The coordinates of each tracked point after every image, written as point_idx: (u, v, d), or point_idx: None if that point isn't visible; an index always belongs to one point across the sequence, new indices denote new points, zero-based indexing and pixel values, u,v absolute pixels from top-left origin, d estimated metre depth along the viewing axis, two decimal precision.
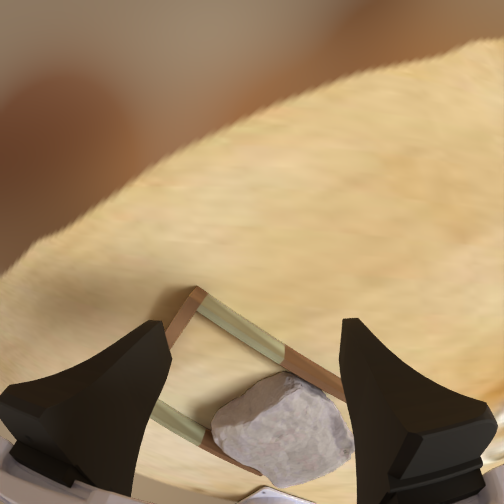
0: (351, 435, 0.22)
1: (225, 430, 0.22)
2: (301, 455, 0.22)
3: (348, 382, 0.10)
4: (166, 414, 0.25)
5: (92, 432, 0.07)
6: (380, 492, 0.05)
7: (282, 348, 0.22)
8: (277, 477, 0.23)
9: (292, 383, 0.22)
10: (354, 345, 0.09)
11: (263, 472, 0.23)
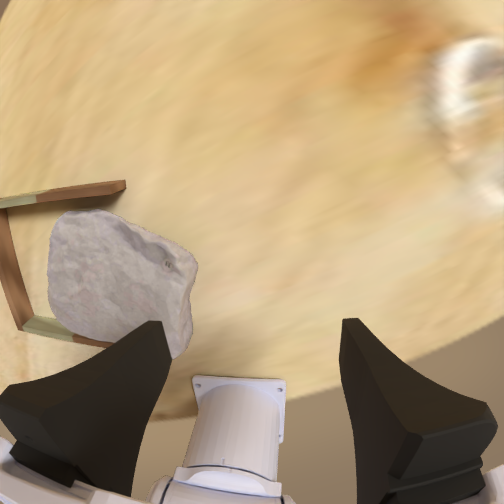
0: (156, 237, 0.19)
1: (49, 301, 0.20)
2: (122, 294, 0.19)
3: (348, 382, 0.10)
4: (47, 324, 0.24)
5: (92, 432, 0.07)
6: (380, 492, 0.05)
7: (44, 191, 0.20)
8: None
9: None
10: (354, 345, 0.09)
11: None
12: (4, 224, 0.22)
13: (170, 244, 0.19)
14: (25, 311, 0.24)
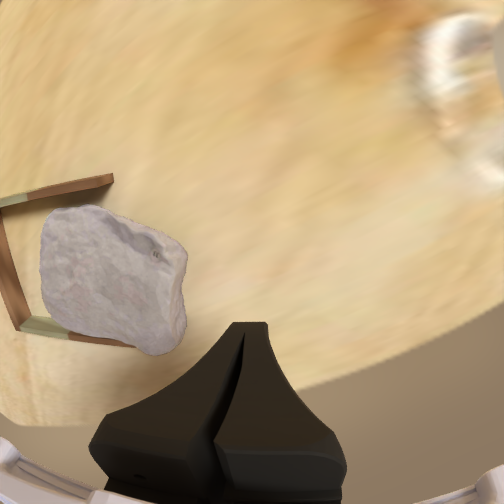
0: (143, 228, 0.19)
1: (43, 299, 0.20)
2: (112, 287, 0.19)
3: None
4: (43, 324, 0.24)
5: (215, 455, 0.06)
6: None
7: (35, 189, 0.20)
8: (134, 338, 0.21)
9: None
10: None
11: (122, 339, 0.21)
12: None
13: (156, 234, 0.18)
14: (22, 311, 0.24)
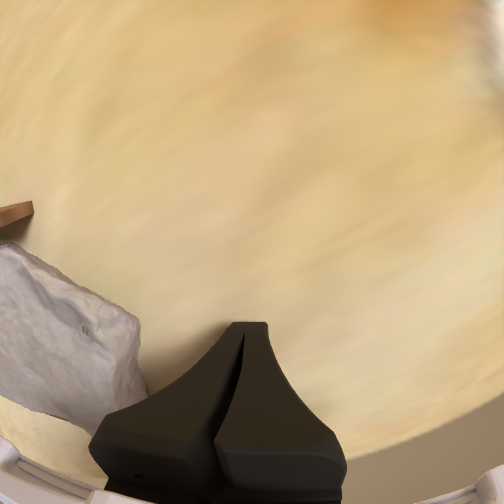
0: (66, 290, 0.11)
1: None
2: (41, 365, 0.11)
3: None
4: None
5: (215, 455, 0.06)
6: None
7: None
8: (80, 423, 0.13)
9: None
10: None
11: (69, 420, 0.13)
12: None
13: (82, 302, 0.11)
14: None
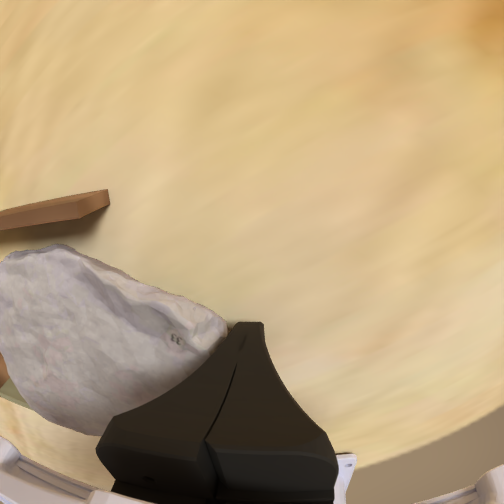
0: (149, 293, 0.10)
1: None
2: (107, 384, 0.11)
3: None
4: None
5: None
6: None
7: None
8: None
9: None
10: (239, 349, 0.10)
11: None
12: None
13: (174, 305, 0.10)
14: None
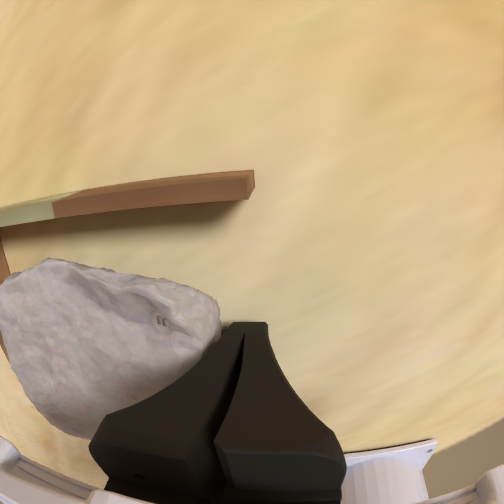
0: (130, 280, 0.10)
1: None
2: (111, 382, 0.11)
3: None
4: None
5: (216, 455, 0.06)
6: None
7: (68, 195, 0.11)
8: None
9: None
10: None
11: None
12: None
13: (153, 286, 0.10)
14: None
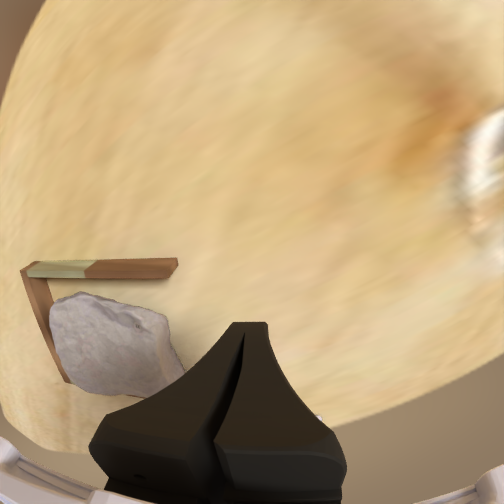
0: (123, 307, 0.22)
1: (66, 373, 0.24)
2: (114, 356, 0.23)
3: None
4: None
5: (215, 455, 0.06)
6: None
7: (90, 264, 0.22)
8: (142, 392, 0.24)
9: None
10: (244, 349, 0.10)
11: (135, 394, 0.24)
12: (44, 287, 0.24)
13: (133, 310, 0.22)
14: None
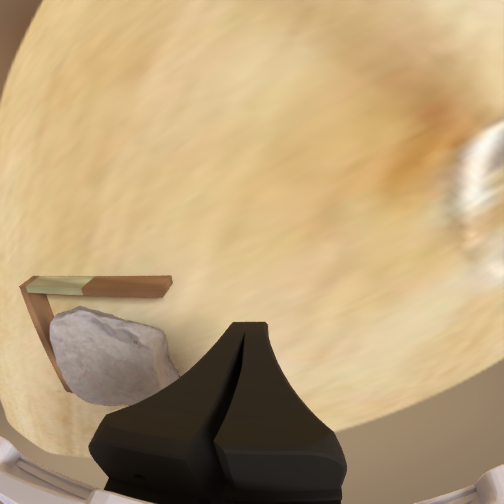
0: (121, 323, 0.22)
1: (67, 384, 0.24)
2: (113, 370, 0.23)
3: None
4: None
5: (216, 455, 0.06)
6: None
7: (87, 281, 0.22)
8: None
9: None
10: (244, 349, 0.10)
11: None
12: (43, 301, 0.24)
13: (131, 327, 0.22)
14: None
